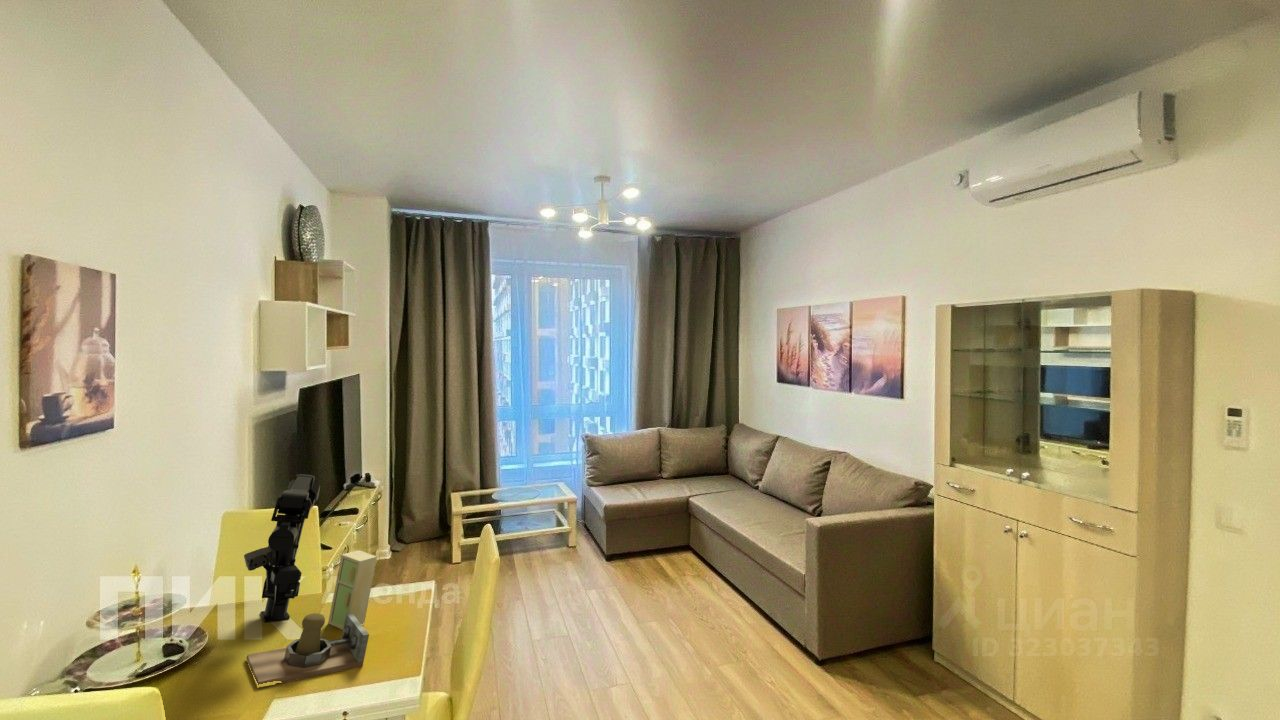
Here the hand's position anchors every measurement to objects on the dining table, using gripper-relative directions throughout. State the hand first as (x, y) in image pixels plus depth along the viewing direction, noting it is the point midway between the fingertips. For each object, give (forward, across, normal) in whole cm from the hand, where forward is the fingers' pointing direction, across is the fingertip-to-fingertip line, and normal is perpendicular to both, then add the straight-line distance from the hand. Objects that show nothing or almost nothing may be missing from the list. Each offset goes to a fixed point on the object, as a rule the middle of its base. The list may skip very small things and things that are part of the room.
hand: (273, 596), depth 152 cm
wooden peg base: (+13, +14, +7) cm, 20 cm away
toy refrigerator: (+13, -4, +22) cm, 26 cm away
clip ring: (+11, +14, +10) cm, 21 cm away
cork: (+12, +14, +7) cm, 19 cm away
